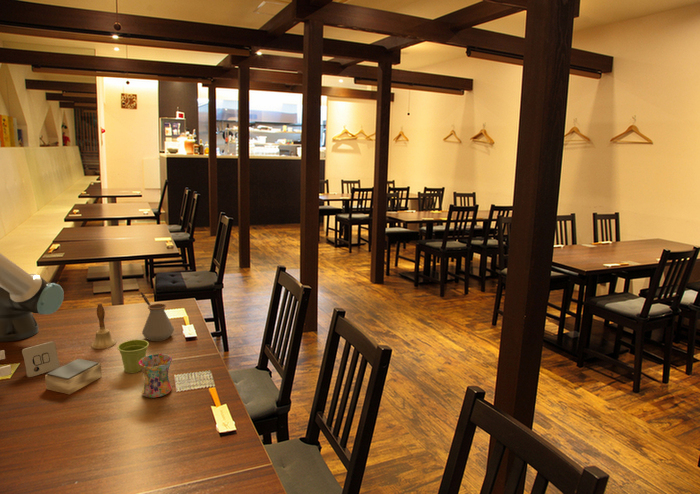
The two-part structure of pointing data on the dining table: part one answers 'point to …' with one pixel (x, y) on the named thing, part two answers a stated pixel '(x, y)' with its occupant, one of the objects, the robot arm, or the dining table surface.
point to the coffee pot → (157, 322)
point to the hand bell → (102, 332)
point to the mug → (156, 375)
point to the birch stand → (73, 376)
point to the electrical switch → (40, 359)
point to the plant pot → (133, 354)
